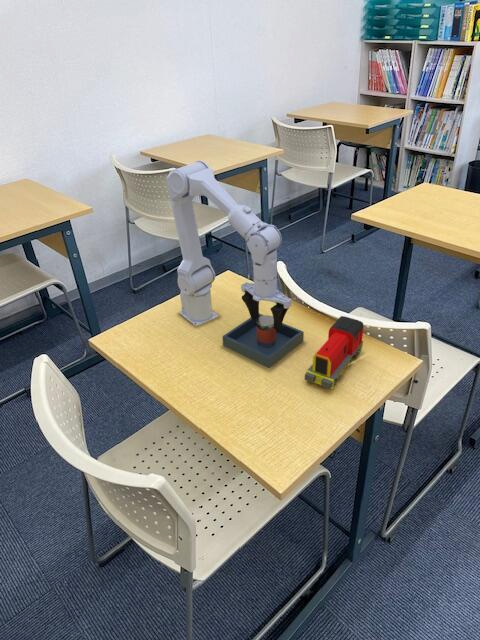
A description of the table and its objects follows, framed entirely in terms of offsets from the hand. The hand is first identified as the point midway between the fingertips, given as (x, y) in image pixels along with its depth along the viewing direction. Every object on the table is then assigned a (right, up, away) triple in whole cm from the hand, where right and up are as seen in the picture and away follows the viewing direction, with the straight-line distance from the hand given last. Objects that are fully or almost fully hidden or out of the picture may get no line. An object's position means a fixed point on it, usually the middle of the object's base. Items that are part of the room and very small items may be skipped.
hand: (266, 322), depth 125 cm
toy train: (+16, -11, -6) cm, 21 cm away
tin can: (0, -5, +3) cm, 6 cm away
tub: (-1, -6, +4) cm, 7 cm away
